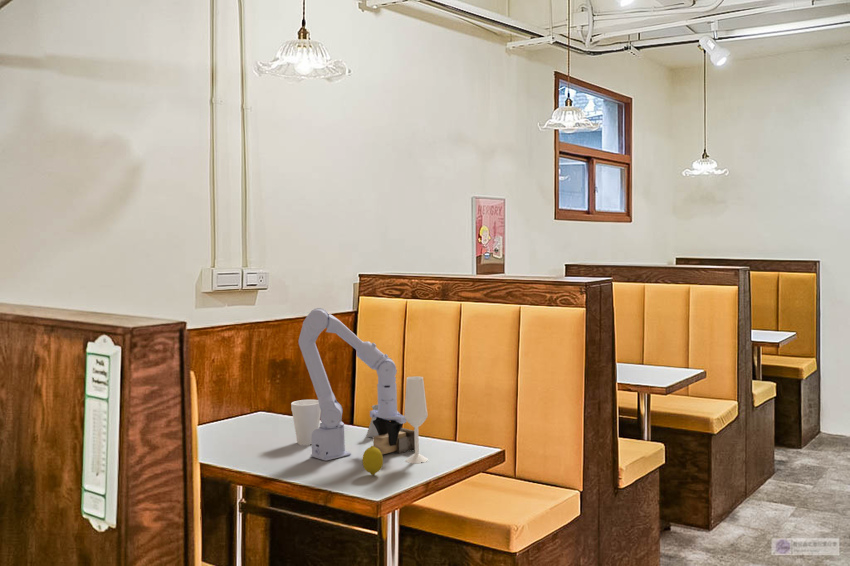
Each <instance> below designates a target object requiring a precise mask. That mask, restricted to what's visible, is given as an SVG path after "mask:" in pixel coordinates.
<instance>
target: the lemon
mask: <svg viewBox="0 0 850 566" xmlns="http://www.w3.org/2000/svg"><path fill="white" fill-rule="evenodd" d="M383 464H384V457H383V454H382V453H381V451H380V450H379V449H378V448H376V447H374V446H373V445H371V446H370V447H368V448H366V449H365V451H364V452H363V455H362V465H363V468H364V470H365V472H367V473H369V474H370V475H372V476H375V475H376V473H378V472H380V471H381V470H382V467H383Z"/></svg>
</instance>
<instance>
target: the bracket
mask: <svg viewBox="0 0 850 566" xmlns="http://www.w3.org/2000/svg"><path fill="white" fill-rule="evenodd" d="M400 431H401V432H405V433H406V437H403V438H399V439H398V451H394V452H393V453H395V454H404V453H407V451H408V452H411V451H412V450H413V452H415V437H414V430H413V429H409V428H406V427H405V428H404V427H401V429H400ZM410 450H411V451H410Z"/></svg>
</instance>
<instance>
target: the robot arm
mask: <svg viewBox="0 0 850 566" xmlns="http://www.w3.org/2000/svg"><path fill="white" fill-rule="evenodd" d="M301 326H302V327H301V330H300V334H299V338H298V346H299V349H300V352H301V355H302V357H303V360H304V362H305V366H306V369H307V371H308V373H309V377H310V380H311V382H312V385H313V388H314V391H315V394H316V397H317V400H318V402H319V407H320V410H321V412H320V422H319V428H318V429H316V430H314V431H313V432H312V445H311V454H310V457H312V458H315V459H319V460H321V461H325V462H326V461H331V460H334V459H338V458H343V457H346V456H351V455H352V453H351V452H349V451H346V448H345V447H346V443H345V441H346V440H345V423H344V422H343V421H342V420H343V419H342V418H343V411H344V410H343V407H342V404H340V403H339V402H338V401H337V398H336V396H335V393H334V392H333V390H332V387H331V383H330V381H329V378H328V374H327V372H326V369H325V367H324V364H323V361H322V358H321V355H320V352H319V349H318V347H317V344H316V341H317V340H318V337H319V336H320V334H321V333H322V332H323V331H324V330H325V329H326V330H325V333H330V334H336V335H337V336H338V337H339V338H340V339H342V340H343V341H344V342H346V343H347V344H348V345H350V346H351V347H352V348H353V349H355V351H356V357H357V358H358V359H360V361H362V362H363V363H364V364H365V365H367V366H368V367H369V368H370V369H371V370H374V371H376V374H377V386H376V387H377V405H378V410H373V409H372V410H369V417H370V418H372V417H376V420H373V424H374V425H375V427H376V429H377V432H378V435H383V434H387V433H388V437H389V444H390V446H393V445H396V443H397V438H398V434H399V431H400V429H401V428H403V425H404V424H406V423H407V420H406V419H405V417H404V415H403V414H401V413H400V411H398V401H397V400H398V396H397V394H398V392H397V378H396V375H397V372H398V370H397V366H396V363H395V361H394V360H392V357H389V355H388V354H387V353H384V352H382V351H381V350H379V348H378V347H377V344H376V343H375V342H371V341H363V340H362V339H360V338H359V337H358V336H357V334H355V333H354V332H353V331H352V330H350V328H349V327H347V325H345V324H344V323H343V322H342V321H341V320H340V319H338V318H337V317H336V316H334V315H332V314H331V313H329V312H328V311H327V310H326V309H324V308H321V307H317V308H314V309H312V310H311V311H310V312H309V313H308V314H307V316H306V317H305V319H304V320H303V322H302V325H301Z"/></svg>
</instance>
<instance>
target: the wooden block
mask: <svg viewBox="0 0 850 566" xmlns="http://www.w3.org/2000/svg"><path fill="white" fill-rule="evenodd" d="M403 437H406V433H405V432H401V431H399V434H398V438H397V443H396V445H393V446H390V444H389V437H388V433H387V434H383V435H379V436H375V437H372V442H373V445H372V446H374V447H376V448H378V449H379V450H380V451H381V453H382V455H386V454H390V453H395V452H394V451H398V439H399V438H403Z"/></svg>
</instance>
